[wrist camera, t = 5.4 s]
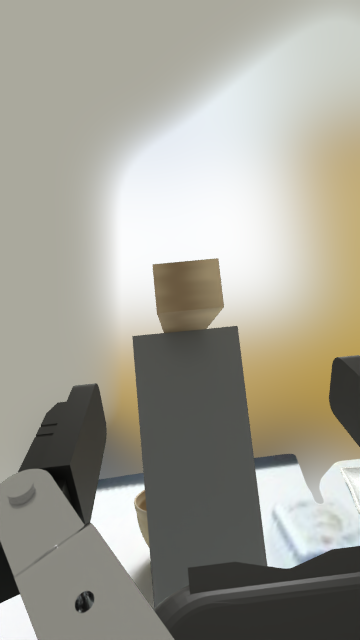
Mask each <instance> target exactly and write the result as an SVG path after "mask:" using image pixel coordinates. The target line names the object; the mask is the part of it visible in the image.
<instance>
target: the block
mask: <svg viewBox="0 0 360 640" xmlns="http://www.w3.org/2000/svg"><path fill="white" fill-rule="evenodd" d="M153 275H154V285H155V297H156V307H157V315H158V317H159V320H160V323H161V326H162V329H163V331H164V333H171V332H181V331H191V330H202V329H207V327H208V326H209V325H210V324H211V322H212V321H213V320H214V319H215V317H216V316H217V315H218V314H219V312H220V311H221V310H222V308H223V307H224V303H223V294H222V286H221V278H220V269H219V261H218V259H207V260H196V261H185V262H175V263H164V264H153Z"/></svg>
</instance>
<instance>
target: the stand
mask: <svg viewBox="0 0 360 640" xmlns="http://www.w3.org/2000/svg"><path fill="white" fill-rule="evenodd" d="M133 348H134V360H135V373H136V386H137V398H138V410H139V422H140V435H141V447H142V460H143V472H144V484H145V497H146V509H147V521H148V534H149V546H150V559H151V571H152V583H153V596H154V608H156V607H157V605H158V604H160V603H161V602H162V601H163V600H165V599H166V598H167V597H168V596H170V595H171V594H173V593H175V592H176V591H178V590H179V589H182V588H184V587H186V586H188V585H189V577H188V568H189V567H197V566H205V565H213V564H221V563H229V562H241V563H248V564H254V565H261V566H267V561H266V553H265V544H264V536H263V528H262V520H261V512H260V504H259V496H258V488H257V480H256V472H255V464H254V456H253V448H252V440H251V432H250V424H249V417H248V408H247V399H246V391H245V383H244V376H243V367H242V359H241V351H240V343H239V335H238V327H237V326H232V327H222V328H212V329H202V330H191V331H181V332H171V333H161V334H151V335H141V336H133Z"/></svg>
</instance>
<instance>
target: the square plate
mask: <svg viewBox="0 0 360 640" xmlns="http://www.w3.org/2000/svg"><path fill="white" fill-rule="evenodd" d="M340 471H341V473H342V475H343V477H344V478H345V480H346V482H347V484H348V486H349V489H350V491H351V494H352V497H353V500H354V503H355V505H356V508H357V510H358V512H359V514H360V467H343V468H340Z"/></svg>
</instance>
